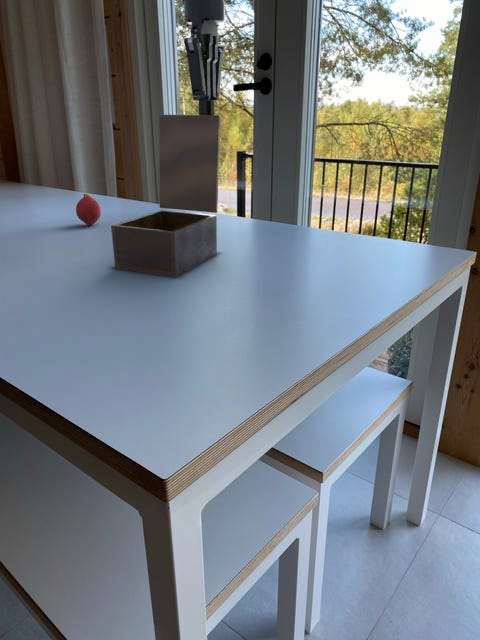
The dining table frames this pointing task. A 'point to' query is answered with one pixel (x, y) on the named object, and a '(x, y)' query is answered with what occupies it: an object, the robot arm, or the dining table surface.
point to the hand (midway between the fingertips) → (207, 136)
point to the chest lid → (189, 162)
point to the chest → (164, 242)
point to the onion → (88, 210)
